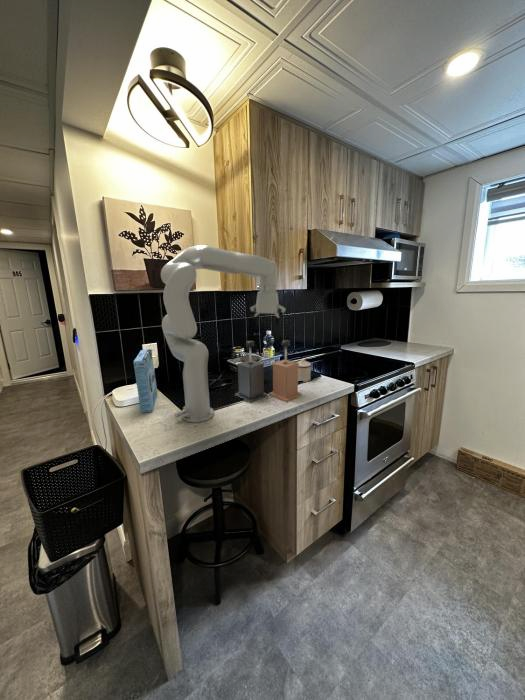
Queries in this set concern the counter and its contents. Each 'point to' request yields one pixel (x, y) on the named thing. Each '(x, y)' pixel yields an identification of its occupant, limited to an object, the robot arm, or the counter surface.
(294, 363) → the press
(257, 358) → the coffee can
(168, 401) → the counter surface
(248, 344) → the plunger
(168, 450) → the counter surface
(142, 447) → the counter surface
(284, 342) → the plunger
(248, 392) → the press
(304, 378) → the teacup with lid
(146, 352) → the gum box
